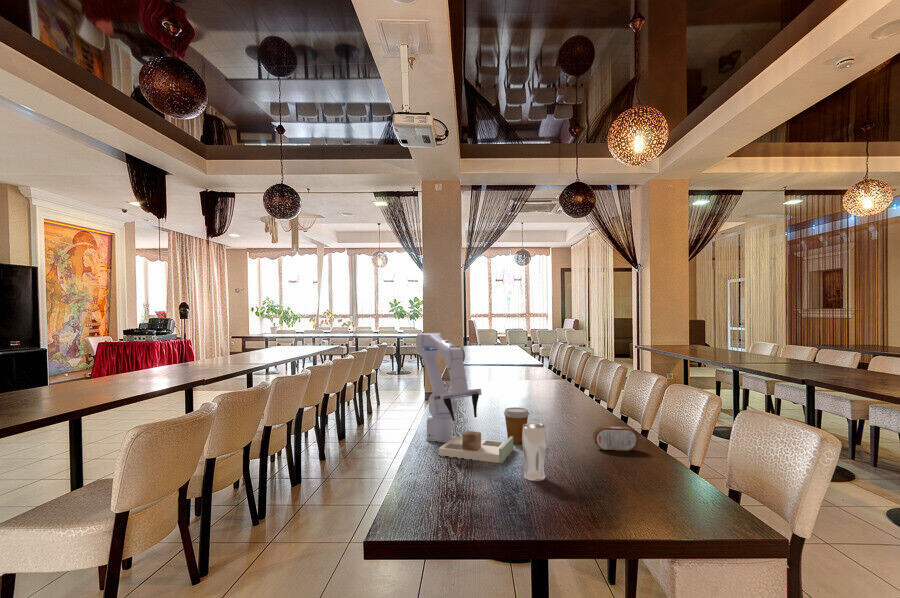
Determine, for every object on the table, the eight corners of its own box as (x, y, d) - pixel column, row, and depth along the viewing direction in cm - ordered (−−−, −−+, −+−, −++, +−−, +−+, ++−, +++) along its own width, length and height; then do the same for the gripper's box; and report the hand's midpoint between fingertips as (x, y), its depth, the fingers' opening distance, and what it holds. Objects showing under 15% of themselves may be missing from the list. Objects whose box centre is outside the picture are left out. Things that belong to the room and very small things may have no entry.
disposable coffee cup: (531, 445, 164) (531, 412, 165) (505, 445, 164) (505, 412, 165) (527, 438, 174) (527, 407, 174) (502, 438, 174) (502, 407, 174)
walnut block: (462, 449, 151) (462, 434, 151) (467, 445, 155) (467, 430, 156) (476, 451, 149) (476, 435, 149) (481, 447, 154) (481, 432, 154)
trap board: (438, 455, 152) (438, 442, 152) (454, 443, 167) (454, 431, 167) (502, 463, 144) (502, 449, 144) (513, 449, 159) (513, 436, 159)
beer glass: (546, 482, 128) (546, 429, 128) (521, 481, 129) (521, 428, 129) (546, 474, 134) (546, 423, 135) (522, 472, 136) (522, 422, 136)
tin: (636, 449, 159) (636, 425, 160) (639, 452, 156) (639, 428, 156) (593, 448, 161) (592, 424, 161) (594, 451, 158) (594, 426, 158)
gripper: (437, 380, 156) (443, 420, 151) (478, 374, 157) (485, 413, 152) (438, 385, 163) (444, 423, 158) (478, 378, 163) (484, 416, 158)
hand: (464, 418), depth 155 cm, fingers open, 7 cm apart
